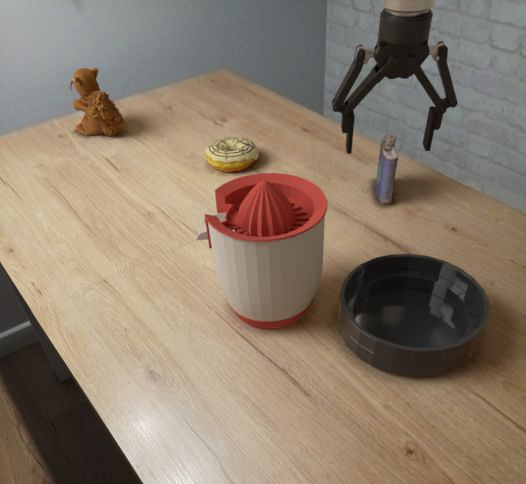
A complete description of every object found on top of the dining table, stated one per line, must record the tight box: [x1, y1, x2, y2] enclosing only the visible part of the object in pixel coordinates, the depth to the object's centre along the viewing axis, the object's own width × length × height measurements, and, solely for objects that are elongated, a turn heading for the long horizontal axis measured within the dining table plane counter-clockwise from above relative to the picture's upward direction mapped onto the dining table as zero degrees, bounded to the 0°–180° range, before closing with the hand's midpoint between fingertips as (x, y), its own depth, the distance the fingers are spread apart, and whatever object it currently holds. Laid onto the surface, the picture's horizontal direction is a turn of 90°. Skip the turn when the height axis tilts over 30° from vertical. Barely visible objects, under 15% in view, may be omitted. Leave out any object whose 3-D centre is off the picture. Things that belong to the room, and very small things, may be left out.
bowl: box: [337, 253, 490, 378], centre depth 71 cm, size 19×19×6 cm
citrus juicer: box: [196, 172, 328, 329], centre depth 70 cm, size 16×17×20 cm
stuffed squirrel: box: [68, 67, 127, 137], centre depth 116 cm, size 10×14×13 cm
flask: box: [374, 134, 399, 206], centre depth 93 cm, size 9×3×11 cm, turn 174°
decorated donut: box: [204, 136, 260, 173], centre depth 106 cm, size 10×11×4 cm
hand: (387, 148), depth 91 cm, fingers open, 13 cm apart
